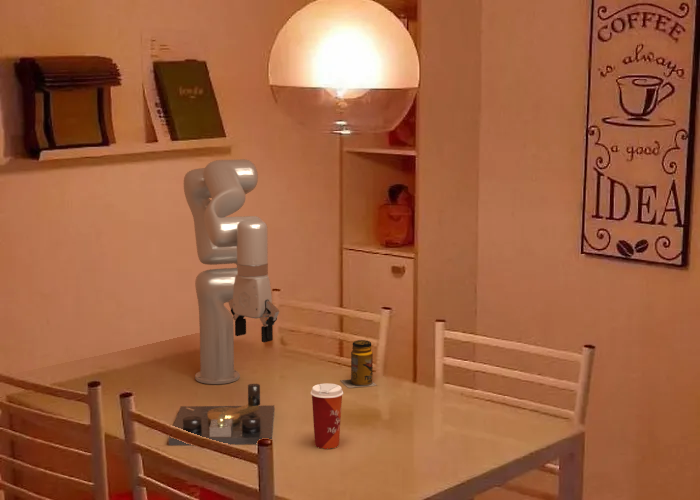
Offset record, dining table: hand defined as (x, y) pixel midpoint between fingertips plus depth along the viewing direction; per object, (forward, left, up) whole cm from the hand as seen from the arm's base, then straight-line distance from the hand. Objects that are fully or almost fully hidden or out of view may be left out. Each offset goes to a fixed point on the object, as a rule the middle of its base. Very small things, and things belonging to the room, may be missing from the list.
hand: (253, 338), depth 260 cm
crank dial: (+4, -5, -19) cm, 20 cm away
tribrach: (+7, -7, -21) cm, 23 cm away
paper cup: (+20, +18, -21) cm, 34 cm away
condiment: (-29, +28, -21) cm, 45 cm away
